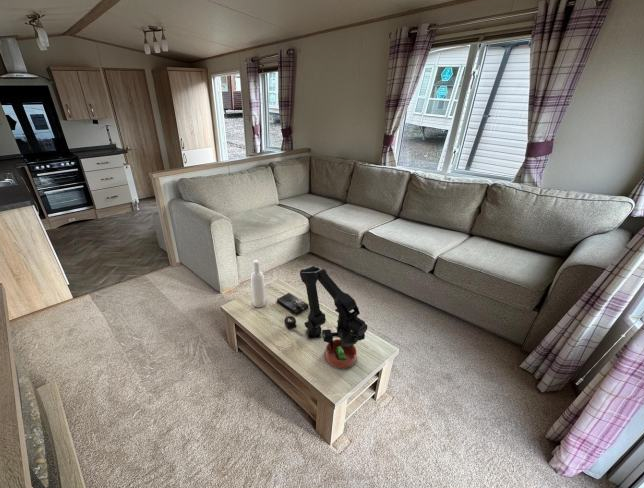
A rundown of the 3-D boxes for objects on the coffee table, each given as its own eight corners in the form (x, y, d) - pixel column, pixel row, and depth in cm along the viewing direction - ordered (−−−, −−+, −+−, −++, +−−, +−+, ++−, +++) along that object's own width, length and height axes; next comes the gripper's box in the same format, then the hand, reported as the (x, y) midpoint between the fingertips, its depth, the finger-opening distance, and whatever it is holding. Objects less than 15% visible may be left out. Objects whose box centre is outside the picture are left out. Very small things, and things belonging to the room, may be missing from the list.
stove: (309, 309, 177) (309, 305, 176) (297, 316, 172) (297, 312, 171) (289, 295, 189) (288, 292, 188) (277, 302, 184) (276, 298, 183)
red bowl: (329, 370, 139) (329, 362, 136) (322, 347, 151) (323, 340, 148) (359, 367, 139) (360, 360, 137) (350, 345, 151) (351, 338, 149)
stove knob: (303, 306, 176) (303, 300, 173) (298, 309, 174) (298, 303, 171) (299, 303, 178) (299, 297, 176) (294, 306, 176) (294, 300, 174)
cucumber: (339, 364, 141) (339, 358, 139) (334, 349, 149) (335, 344, 147) (346, 363, 141) (347, 358, 139) (341, 349, 149) (342, 344, 147)
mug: (281, 326, 165) (281, 316, 161) (289, 321, 169) (289, 311, 165) (297, 337, 157) (297, 327, 153) (305, 332, 161) (305, 321, 157)
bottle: (251, 307, 181) (247, 264, 165) (254, 299, 188) (250, 257, 172) (264, 308, 180) (261, 265, 164) (266, 300, 186) (264, 258, 171)
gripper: (327, 336, 126) (325, 362, 134) (371, 333, 127) (366, 359, 135) (322, 319, 136) (320, 344, 144) (362, 316, 136) (358, 341, 145)
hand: (341, 347), depth 142 cm, fingers open, 9 cm apart
